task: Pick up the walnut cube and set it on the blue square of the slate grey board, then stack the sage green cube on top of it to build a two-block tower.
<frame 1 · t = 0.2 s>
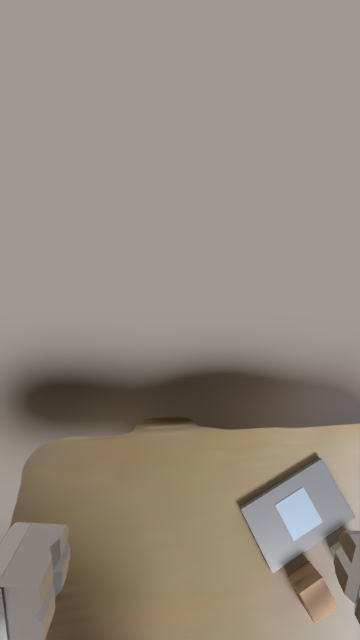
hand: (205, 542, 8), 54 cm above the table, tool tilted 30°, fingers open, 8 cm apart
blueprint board: (295, 510, 56), on the table
walnut cube: (305, 582, 53), on the table
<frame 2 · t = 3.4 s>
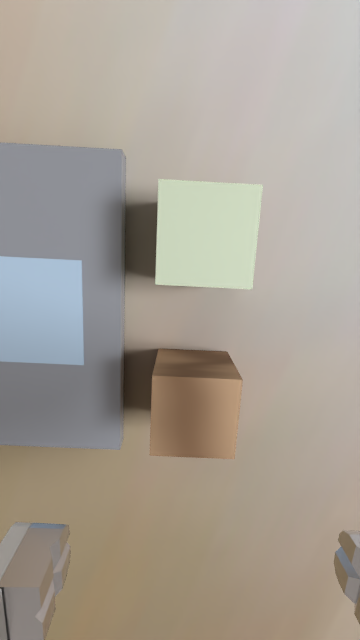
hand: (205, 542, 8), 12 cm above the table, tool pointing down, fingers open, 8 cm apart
green cube: (199, 243, 18), on the table
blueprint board: (38, 309, 19), on the table
walnut cube: (190, 381, 20), on the table
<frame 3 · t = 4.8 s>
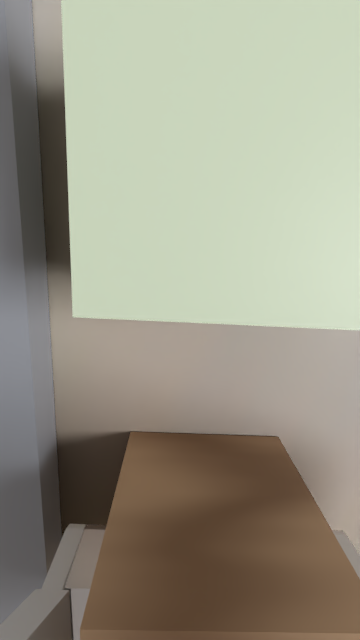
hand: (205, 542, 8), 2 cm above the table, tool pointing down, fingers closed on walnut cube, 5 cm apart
green cube: (224, 196, 8), on the table
walnut cube: (199, 495, 10), on the table, touching gripper
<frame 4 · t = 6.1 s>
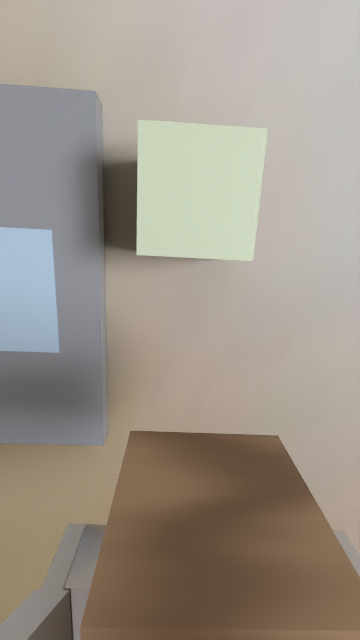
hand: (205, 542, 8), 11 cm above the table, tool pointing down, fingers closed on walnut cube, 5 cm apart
green cube: (190, 211, 16), on the table
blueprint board: (5, 288, 17), on the table
walnut cube: (199, 494, 10), point 9 cm above the table, touching gripper
when the fingers open (4 cm above the table, at t = 10.3 s): walnut cube drops 1 cm, resting on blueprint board.
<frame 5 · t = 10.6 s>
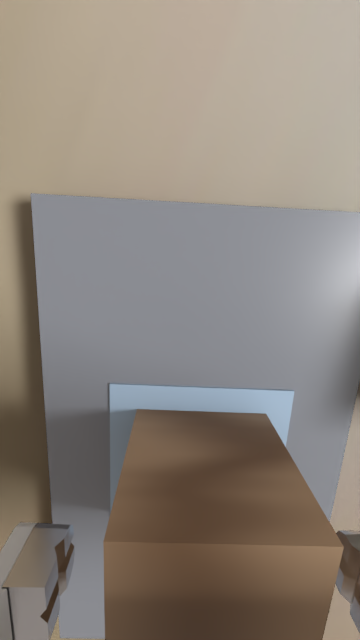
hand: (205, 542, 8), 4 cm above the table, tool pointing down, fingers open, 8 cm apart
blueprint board: (194, 445, 12), on the table
walnut cube: (197, 466, 11), point 1 cm above the table, touching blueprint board
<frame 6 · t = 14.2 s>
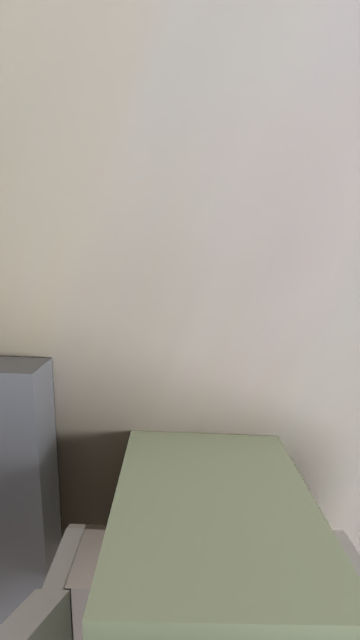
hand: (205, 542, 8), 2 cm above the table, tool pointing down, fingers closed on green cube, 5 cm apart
green cube: (199, 493, 10), on the table, touching gripper
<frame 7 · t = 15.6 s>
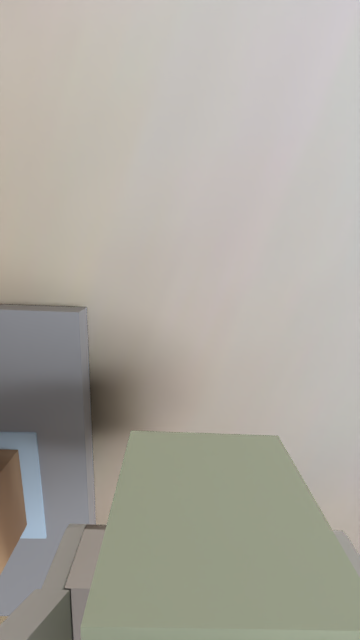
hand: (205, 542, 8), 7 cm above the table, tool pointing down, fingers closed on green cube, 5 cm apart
green cube: (199, 494, 10), point 6 cm above the table, touching gripper
when the fingers open (9 cm above the table, at t = 19.6 s): green cube drops 1 cm, resting on walnut cube.
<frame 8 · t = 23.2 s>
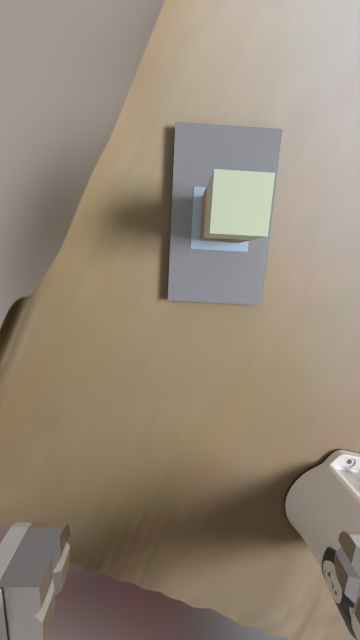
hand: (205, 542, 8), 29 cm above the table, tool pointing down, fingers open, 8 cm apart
green cube: (230, 213, 28), point 6 cm above the table, touching walnut cube
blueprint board: (219, 221, 34), on the table
walnut cube: (221, 219, 33), point 1 cm above the table, touching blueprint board, green cube
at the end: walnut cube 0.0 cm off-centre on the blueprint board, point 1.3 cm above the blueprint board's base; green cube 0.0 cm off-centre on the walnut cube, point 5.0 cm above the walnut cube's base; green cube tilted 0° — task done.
